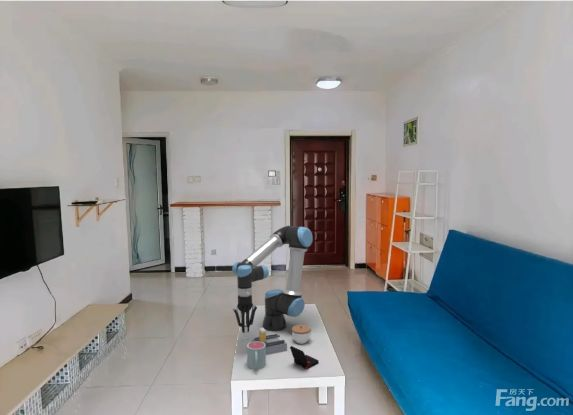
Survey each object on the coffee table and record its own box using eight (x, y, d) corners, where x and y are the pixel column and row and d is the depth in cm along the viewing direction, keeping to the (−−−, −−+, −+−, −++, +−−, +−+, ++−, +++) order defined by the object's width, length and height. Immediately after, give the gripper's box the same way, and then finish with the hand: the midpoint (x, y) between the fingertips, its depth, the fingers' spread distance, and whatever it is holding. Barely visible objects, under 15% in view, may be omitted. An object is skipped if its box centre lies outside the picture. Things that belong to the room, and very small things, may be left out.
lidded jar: (314, 340, 213) (314, 324, 212) (304, 347, 204) (304, 330, 203) (298, 336, 219) (298, 320, 218) (288, 342, 210) (288, 326, 209)
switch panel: (278, 341, 211) (278, 333, 211) (286, 350, 200) (286, 341, 200) (252, 346, 205) (251, 338, 205) (259, 356, 194) (258, 347, 194)
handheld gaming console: (319, 363, 186) (319, 344, 185) (302, 372, 178) (302, 352, 177) (305, 357, 193) (305, 338, 192) (289, 365, 184) (289, 345, 184)
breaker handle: (264, 339, 204) (263, 327, 203) (267, 343, 199) (267, 330, 199) (257, 340, 202) (257, 328, 202) (260, 344, 198) (260, 331, 197)
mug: (247, 360, 189) (247, 341, 189) (265, 359, 190) (265, 341, 189) (246, 374, 176) (246, 354, 175) (266, 373, 176) (265, 353, 176)
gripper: (234, 298, 189) (235, 343, 191) (258, 295, 194) (259, 338, 196) (231, 294, 196) (231, 337, 198) (254, 291, 201) (255, 333, 203)
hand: (245, 338), depth 197 cm, fingers closed
